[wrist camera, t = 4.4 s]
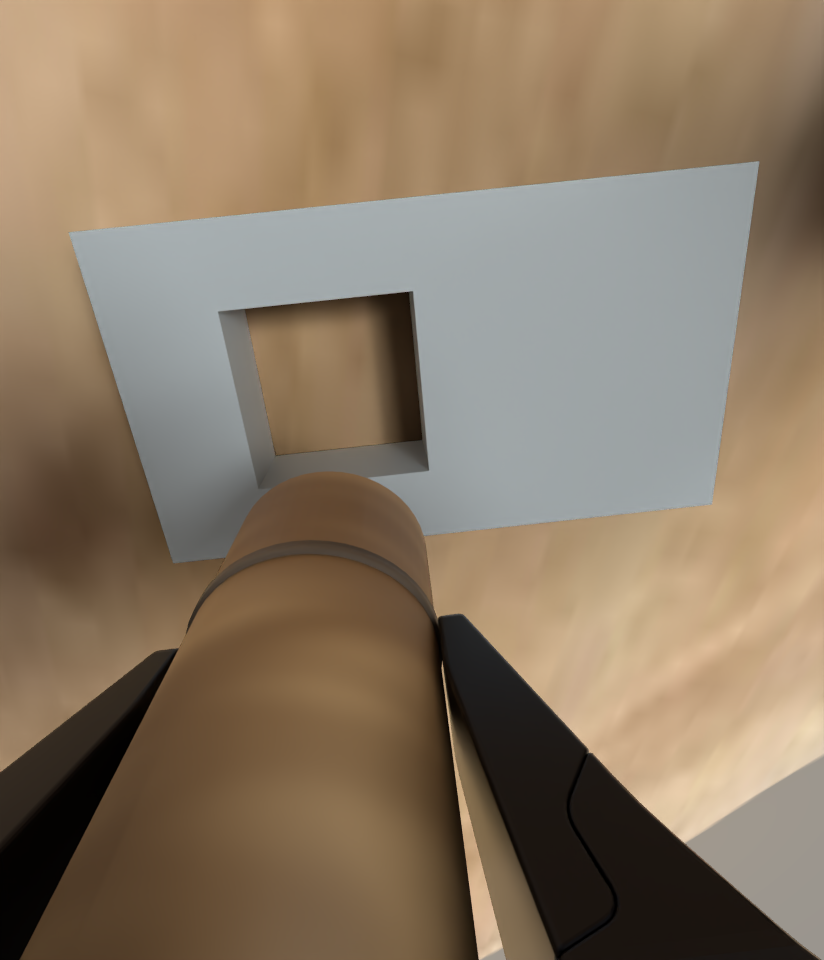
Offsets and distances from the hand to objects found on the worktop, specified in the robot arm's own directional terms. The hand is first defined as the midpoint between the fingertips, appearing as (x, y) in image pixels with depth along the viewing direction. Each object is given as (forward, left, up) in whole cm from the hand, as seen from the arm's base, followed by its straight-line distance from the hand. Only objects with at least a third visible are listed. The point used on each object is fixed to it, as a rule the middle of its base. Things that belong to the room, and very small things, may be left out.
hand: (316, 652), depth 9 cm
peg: (0, 0, -3) cm, 3 cm away
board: (-3, -2, -12) cm, 12 cm away
